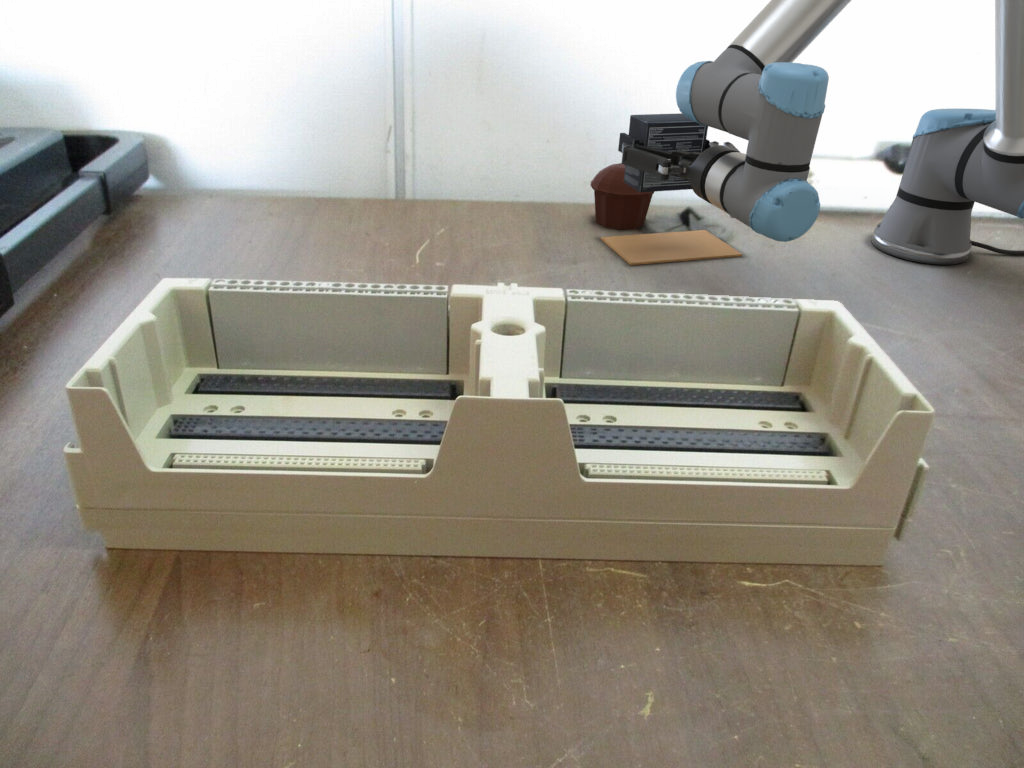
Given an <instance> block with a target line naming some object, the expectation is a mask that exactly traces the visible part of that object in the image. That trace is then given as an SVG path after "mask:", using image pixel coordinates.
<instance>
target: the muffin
mask: <svg viewBox="0 0 1024 768" xmlns="http://www.w3.org/2000/svg"><path fill="white" fill-rule="evenodd" d="M624 174H625V165H624V164H622V163H621V162H619V163H613V164H610V165H608V166H606V167H604V168H602V169H601V170H599V171H598V172H597V174H595V176H594V177H593V178H592V180H591V181H590V188H592V190H593V194H594V212H595V213H594V214H595V215H594V216H595V223H596V224H599V225H601V226H603V227H604V228H609V229H615V230H621V231H623V230H637V229H638V228H640V227H643V226H644V225H645V222H646V218H647V214H648V212H649V208H650V205H651V202H652V198H653V195H654V193H655V192H638V191H637V190H635V189H634V188H632V187H630V186H629V185H627V184H626V183H624Z"/></svg>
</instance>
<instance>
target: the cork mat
mask: <svg viewBox="0 0 1024 768" xmlns="http://www.w3.org/2000/svg"><path fill="white" fill-rule="evenodd" d="M600 240H601V241H602V242H603V243H604V244H605V245H607V246H608V247H609V248H610V249H612V251H613V252H614V253H616V255H618V256H619V257H620V258H621V259H623V260H624V262H626V263H627V264H628V265H629V266H639V265H640V266H641V265H651V264H663V263H665V264H666V263H677V262H689V261H700V260H701V261H703V260H713V259H715V260H716V259H725V258H737V257H738V258H739V257H743V254H742V253H741V252H740V251H739V250H736V249H735V248H734V247H733V246H730V245H729V244H728V243H726V242H724V241H723V240H722V239H720V238H719V237H717V236H716V235H714V234H712V233H711V232H709V231H708V230H706V229H700V230H699V229H697V230H683V231H669V232H667V231H666V232H655V233H654V232H653V233H640V234H626V235H611V236H610V235H609V236H600Z"/></svg>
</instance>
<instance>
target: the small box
mask: <svg viewBox="0 0 1024 768" xmlns="http://www.w3.org/2000/svg"><path fill="white" fill-rule="evenodd" d="M629 116H630V117H629V127H628V135H629V136H631V137H633V138H635V139H640V140H639V141H640V142H642V143H643V146H647V147H652V148H656V149H661V150H665V151H670V152H674V151H677V150H682V151H686V152H691V153H692V152H699V153H702V152H703V151H705V144H706V139H707V136H708V130H709V126H703V125H700V124H699V123H697V122H695V121H693V120H691V119H689V118H687V117H686V116H684V115H683V114H682V113H681V112H679V113H650V114H649V113H648V114H646V113H645V114H630V115H629ZM682 158H683V157H682V156H680V160H679V162H680V161H681V159H682ZM624 183H626V184H627V185H629V186H630V187H632V188H634V189H635V190H637V191H638V192H654V193H656V192H670V191H685V190H686V191H687V190H693V189H692V187H691V185H690V182H689V181H686V180H685V179H684V178H680V177H676V176H672V175H670V174H669V179H668V180H663V179H660V178H659V177H657V176H656V175H653V174H650V173H647V172H644V171H641V170H638V169H636V168H633V167H630V166H627V165H625V174H624Z"/></svg>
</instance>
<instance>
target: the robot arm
mask: <svg viewBox="0 0 1024 768" xmlns="http://www.w3.org/2000/svg"><path fill="white" fill-rule="evenodd" d="M851 2H852V0H770V1H769V2H768V3H767V4H766V5H765V6H763V8H762V10H760V12H758V13H757V15H756V16H755V17H754V18H753V19H752V20H751V21H750V23H748V24H747V25H746V27H745V28H744V29H743V30H742V31H740V33H739V34H738V35H737V36H736V37H735V38H734V39H733V41H732V42H730V44H729V45H728V46H727V47H726V48H725V49H724V50H723V51H722V52H720V54H719V55H718V56H717V58H716V59H715V60H714V61H713V60H702V61H697V62H695V63H694V64H691V65H689V66H687V68H686V69H684V71H683V72H682V74H681V75H680V77H679V79H678V81H677V84H676V88H675V102H676V105H677V108H678V109H679V113H682V114H683V115H684V116H686V117H687V118H689V119H691V120H693V121H695V122H697V123H699V124H700V125H703V126H708V128H712V129H715V130H719V131H722V132H725V133H728V134H729V135H732V136H735V137H737V138H740V139H743V140H745V141H748V142H747V148H746V153H744V152H741V151H740V150H739V149H738V148H737V147H736V146H735V145H734V144H733V143H732V142H730V141H725V142H723V143H722V144H720V142H719V141H711V140H710V139H707V138H706V144H705V151H703V152H702V153H699V152H692V153H691V152H686V151H682V150H677V151H674V152H670V151H665V150H661V149H656V148H652V147H647V146H643V143H642V142H640V141H639V140H640V139H635V138H633V137H631V136H629V133H626V132H620V133H619V139H618V147H617V152H620V153H621V154H622V155H621V162H620V163H622V164H624V165H627V166H630V167H633V168H636V169H638V170H641V171H644V172H647V173H650V174H653V175H656V176H657V177H659V178H660V179H663V180H668V179H669V174H670V175H672V176H676V177H680V178H684V179H685V180H686V181H689V182H690V185H691V187H692V189H691V190H692V191H693V193H694V194H695V195H696V196H697V197H698V198H700V199H701V200H703V201H705V202H706V203H708V204H710V205H712V206H714V207H716V208H717V209H719V210H721V211H723V212H724V213H725V214H728V215H729V218H730V219H735V220H737V221H739V222H740V223H742V224H743V225H746V226H747V227H749V228H750V229H752V231H753V232H755V233H757V234H759V235H762V236H764V237H766V238H768V239H771V240H774V241H776V242H783V243H787V242H792V241H795V240H797V239H800V237H802V236H804V235H805V234H806V233H808V231H809V230H811V228H812V227H813V226H814V225H815V223H816V221H817V219H818V217H819V215H820V210H821V202H820V197H819V192H818V190H817V188H815V187H814V186H813V185H812V184H811V183H809V181H808V177H809V174H810V169H811V167H810V165H811V161H812V156H813V154H814V149H815V145H816V141H817V137H818V133H819V130H820V125H821V122H822V117H823V114H824V112H825V108H826V97H827V91H828V86H829V80H830V77H829V73H828V72H827V70H826V69H825V68H823V67H821V66H818V65H814V64H808V63H807V64H806V63H801V62H795V60H797V58H798V57H800V55H801V54H802V53H803V52H804V51H805V50H806V49H807V48H808V47H809V46H810V44H812V42H814V41H815V39H817V37H818V36H819V35H820V34H821V33H822V32H823V31H824V30H825V29H826V28H827V27H828V26H829V24H830V23H831V22H832V21H833V20H834V19H835V18H836V17H837V16H839V14H840V13H841V12H842V11H843V10H844V9H845V8H846V7H847V6H848V5H849V4H850V3H851ZM994 60H995V61H994V63H995V64H994V66H995V67H994V68H995V69H994V70H995V71H994V73H995V78H994V79H995V80H994V81H995V82H994V83H995V89H994V90H995V96H994V99H995V101H994V102H995V109H987V108H986V109H985V108H935V109H930V110H928V111H926V112H924V113H923V114H922V115H921V116H920V119H919V121H918V124H917V126H916V129H915V132H914V134H913V135H912V140H911V144H910V148H909V151H908V154H907V159H906V160H905V161H906V162H905V165H904V167H903V168H904V169H903V172H902V175H901V178H900V182H899V186H898V189H897V193H896V195H895V198H894V200H893V201H892V203H891V204H890V205H889V208H888V209H887V211H886V213H885V214H884V215H883V217H882V219H881V221H880V222H879V223H878V224H877V225H876V226H875V228H874V229H873V233H872V237H871V243H872V245H873V246H874V247H875V248H877V249H878V250H880V251H882V252H883V253H886V254H888V255H890V256H893V257H897V258H900V259H904V260H906V261H912V262H916V263H921V264H929V265H944V266H945V265H958V264H961V263H965V262H966V261H967V260H968V258H969V256H970V253H971V251H972V247H977V248H981V249H984V250H986V251H989V252H992V253H997V254H1001V255H1007V256H1008V255H1009V256H1024V250H1012V249H1010V250H1009V249H1002V248H999V247H995V246H993V245H990V244H985V243H982V242H979V241H974V240H971V233H972V232H971V230H972V211H973V208H974V205H975V204H977V203H978V204H980V205H983V206H985V207H987V208H991V209H993V210H997V211H1000V212H1003V213H1006V214H1009V215H1011V216H1014V217H1016V218H1018V219H1022V220H1024V0H994ZM680 156H682V157H683V158H682V159H681V161H680V162H679V160H680Z"/></svg>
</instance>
